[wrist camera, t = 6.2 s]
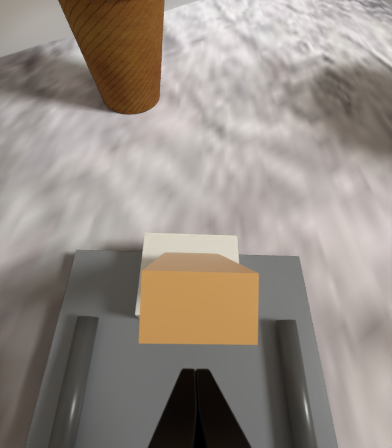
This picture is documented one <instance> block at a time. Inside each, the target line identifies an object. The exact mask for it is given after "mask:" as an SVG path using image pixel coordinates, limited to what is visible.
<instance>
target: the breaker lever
mask: <svg viewBox="0 0 392 448" xmlns="http://www.w3.org/2000/svg"><path fill="white" fill-rule="evenodd" d="M258 300H259V273H257V272H255V271H253V270H251V269H249V268H247V267H245V266H243V265H241V264H239V263H237V262H234V261H232V260H230V259H228V258H226V257H224V256H222V255H220V254H213V253H179V252H165V253H163V254H162V255H161V256H159V257H158V258H157V259H156V260H154V261H153V262H152V263H151V264H149V265H148V266H147V267H146V268H144V269H143V270H142V278H141V300H140V323H139V344H226V345H258Z"/></svg>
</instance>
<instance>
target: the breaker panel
mask: <svg viewBox="0 0 392 448" xmlns="http://www.w3.org/2000/svg"><path fill="white" fill-rule="evenodd" d="M165 252H179V253H213V254H220V255H222V256H224V257H226V258H228V259H230V260H232V261H234V262H237V263H239V264H241V265H243V266H245V267H247V268H249V269H251V270H253V271H255V272H257V273H259V300H258V345H226V344H139V323H140V300H141V278H142V270H143V269H144V268H146V267H147V266H148V265H149V264H151V263H152V262H153V261H154V260H156V259H157V258H158V257H159V256H161V255H162V254H163V253H165ZM183 368H194V369H195V371H196V369H197V368H208V369H209V370H210V371H211V373H212V375H213V377H214V378H215V380H216V382H217V384H218V386H219V388H220V390H221V391H222V393H223V395H224V397H225V399H226V401H227V402H228V404H229V406H230V408H231V410H232V412H233V414H234V415H235V417H236V419H237V421H238V423H239V425H240V427H241V428H242V430H243V432H244V434H245V436H246V438H247V439H248V441H249V443H250V445H251V447H252V448H338V445H337V440H336V435H335V430H334V425H333V420H332V415H331V411H330V406H329V401H328V396H327V391H326V386H325V381H324V376H323V371H322V367H321V362H320V357H319V352H318V347H317V342H316V337H315V332H314V327H313V323H312V318H311V313H310V308H309V303H308V298H307V293H306V288H305V283H304V279H303V274H302V269H301V264H300V259H299V256H268V255H238V242H237V236H228V235H198V234H168V233H145V236H144V245H143V252H132V251H98V250H76V253H75V257H74V260H73V264H72V268H71V272H70V276H69V280H68V283H67V287H66V291H65V295H64V299H63V303H62V306H61V310H60V314H59V318H58V322H57V325H56V329H55V333H54V337H53V341H52V345H51V348H50V352H49V356H48V360H47V364H46V368H45V371H44V375H43V379H42V383H41V387H40V391H39V394H38V398H37V402H36V406H35V410H34V414H33V417H32V421H31V425H30V429H29V433H28V437H27V440H26V444H25V448H147V447H148V445H149V443H150V440H151V438H152V436H153V433H154V431H155V429H156V427H157V424H158V422H159V420H160V417H161V415H162V413H163V410H164V408H165V406H166V403H167V401H168V399H169V397H170V394H171V392H172V390H173V387H174V385H175V383H176V380H177V378H178V376H179V373H180V371H181V370H182V369H183Z"/></svg>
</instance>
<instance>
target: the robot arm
mask: <svg viewBox="0 0 392 448" xmlns="http://www.w3.org/2000/svg"><path fill="white" fill-rule="evenodd" d="M147 448H252V447H251V445H250V443H249V441H248V439H247V438H246V436H245V434H244V432H243V430H242V428H241V427H240V425H239V423H238V421H237V419H236V417H235V415H234V414H233V412H232V410H231V408H230V406H229V404H228V402H227V401H226V399H225V397H224V395H223V393H222V391H221V390H220V388H219V386H218V384H217V382H216V380H215V378H214V377H213V375H212V373H211V371H210V370H209V369H208V368H197V369H196V371H195V369H194V368H183V369H182V370H181V371H180V373H179V376H178V378H177V380H176V383H175V385H174V387H173V390H172V392H171V394H170V397H169V399H168V401H167V403H166V406H165V408H164V410H163V413H162V415H161V417H160V420H159V422H158V424H157V427H156V429H155V431H154V433H153V436H152V438H151V440H150V443H149V445H148V447H147Z"/></svg>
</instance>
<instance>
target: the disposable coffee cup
mask: <svg viewBox="0 0 392 448" xmlns="http://www.w3.org/2000/svg"><path fill="white" fill-rule="evenodd" d="M58 1H59V3H60V5H61V8H62V10H63V12H64V14H65V16H66V19H67V21H68V23H69V25H70V28H71V30H72V32H73V35H74V37H75V39H76V41H77V43H78V45H79V48H80V50H81V52H82V54H83V57H84V59H85V61H86V63H87V66H88V68H89V70H90V72H91V74H92V77H93V79H94V81H95V83H96V86H97V88H98V90H99V92H100V94H101V97H102V99H103V102H104V103H105V105H106V106H107V107H108V108H110V109H112V110H113V111H116V112H119V113H124V114H136V113H141V112H144V111H147V110H149V109H151V108H152V107H154V106H155V105H156V104H157V102H158V101H159V97H160V80H161V61H162V38H163V17H164V0H58Z"/></svg>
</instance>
